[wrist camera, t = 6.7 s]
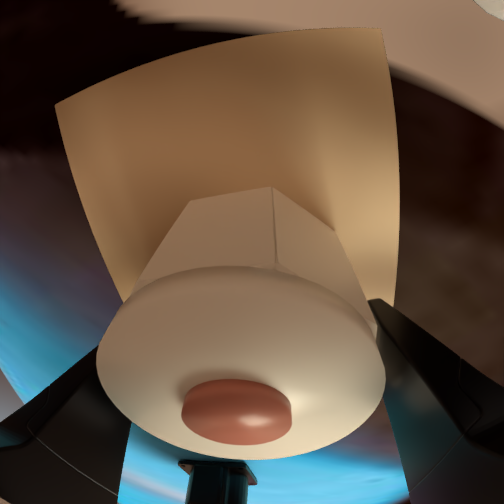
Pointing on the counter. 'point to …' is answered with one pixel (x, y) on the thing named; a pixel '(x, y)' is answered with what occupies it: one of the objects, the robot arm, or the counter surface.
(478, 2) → the white cup
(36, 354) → the counter surface
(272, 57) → the stud block
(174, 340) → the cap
